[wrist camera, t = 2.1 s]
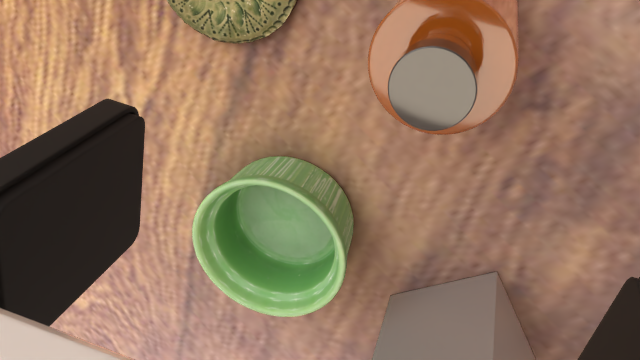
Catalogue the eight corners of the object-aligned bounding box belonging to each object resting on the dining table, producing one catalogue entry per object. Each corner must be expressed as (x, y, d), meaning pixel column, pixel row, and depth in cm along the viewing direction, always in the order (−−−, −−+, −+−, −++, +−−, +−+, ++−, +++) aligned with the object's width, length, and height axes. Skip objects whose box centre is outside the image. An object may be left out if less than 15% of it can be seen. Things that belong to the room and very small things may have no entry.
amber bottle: (535, -28, 26) (546, 32, 17) (494, 80, 29) (484, 184, 19) (422, -57, 27) (372, -15, 17) (392, 51, 29) (335, 137, 20)
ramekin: (237, 267, 39) (208, 309, 35) (211, 144, 35) (175, 177, 31) (368, 279, 36) (352, 326, 33) (357, 146, 32) (336, 183, 29)
